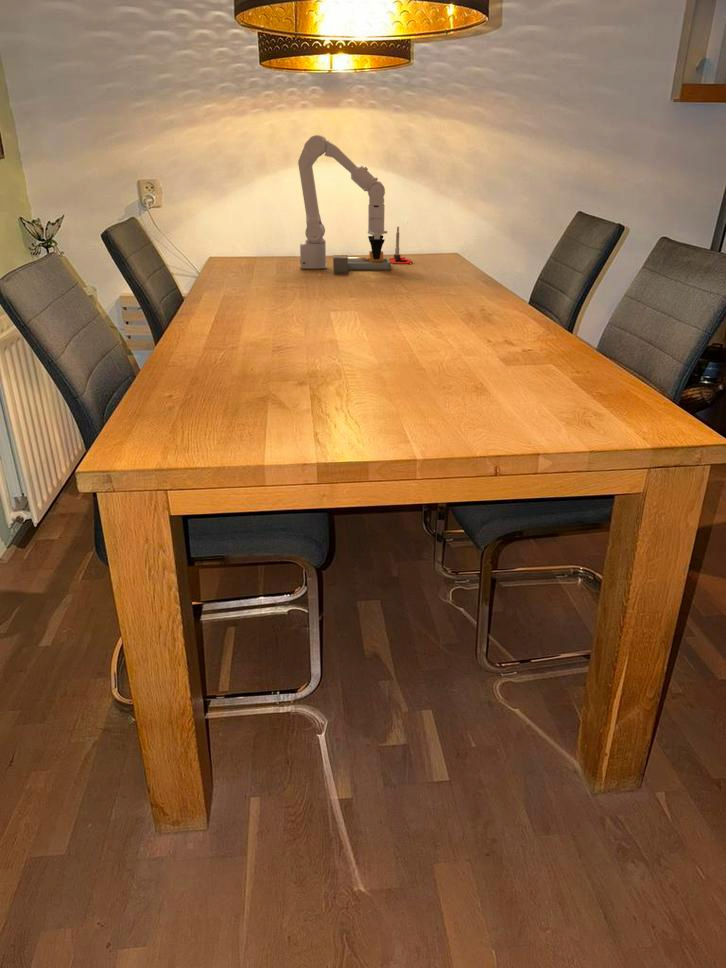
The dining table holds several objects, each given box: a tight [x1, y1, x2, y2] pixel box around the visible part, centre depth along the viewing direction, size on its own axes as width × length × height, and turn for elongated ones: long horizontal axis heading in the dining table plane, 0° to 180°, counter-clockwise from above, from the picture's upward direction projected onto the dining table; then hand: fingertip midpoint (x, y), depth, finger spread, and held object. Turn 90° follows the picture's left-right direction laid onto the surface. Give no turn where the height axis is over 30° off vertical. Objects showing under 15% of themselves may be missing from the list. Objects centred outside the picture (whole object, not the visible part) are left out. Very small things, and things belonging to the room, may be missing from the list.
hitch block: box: [332, 254, 349, 275], centre depth 262 cm, size 5×7×5 cm
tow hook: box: [389, 226, 413, 265], centre depth 280 cm, size 8×13×9 cm
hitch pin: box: [348, 250, 384, 263], centre depth 271 cm, size 15×4×5 cm, turn 92°
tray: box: [348, 257, 392, 271], centre depth 271 cm, size 20×11×2 cm, turn 92°
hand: (376, 257), depth 270 cm, fingers open, 7 cm apart
